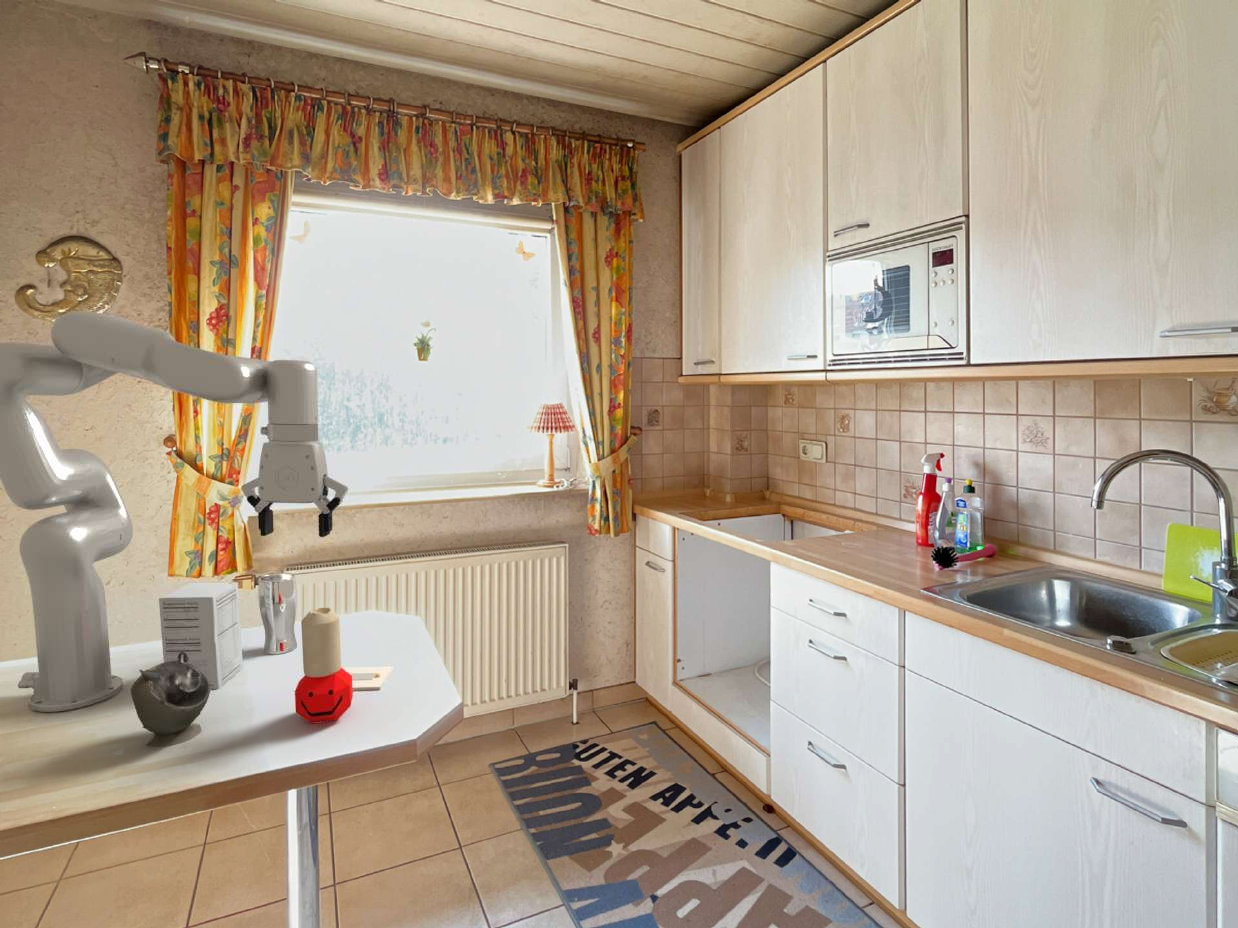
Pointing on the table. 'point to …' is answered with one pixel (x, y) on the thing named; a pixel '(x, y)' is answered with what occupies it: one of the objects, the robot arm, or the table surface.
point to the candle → (321, 643)
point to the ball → (324, 697)
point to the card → (369, 677)
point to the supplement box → (204, 629)
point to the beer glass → (278, 611)
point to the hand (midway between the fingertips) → (295, 534)
